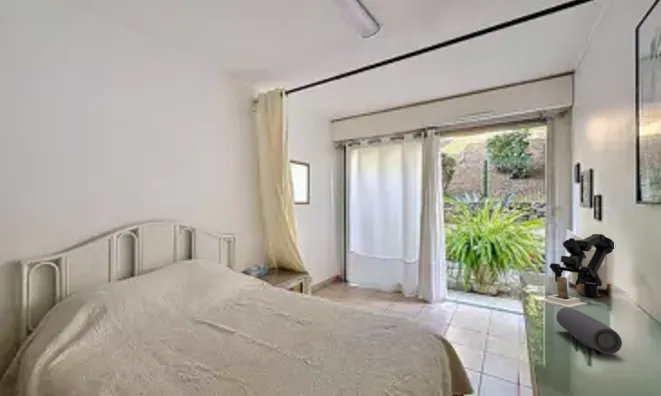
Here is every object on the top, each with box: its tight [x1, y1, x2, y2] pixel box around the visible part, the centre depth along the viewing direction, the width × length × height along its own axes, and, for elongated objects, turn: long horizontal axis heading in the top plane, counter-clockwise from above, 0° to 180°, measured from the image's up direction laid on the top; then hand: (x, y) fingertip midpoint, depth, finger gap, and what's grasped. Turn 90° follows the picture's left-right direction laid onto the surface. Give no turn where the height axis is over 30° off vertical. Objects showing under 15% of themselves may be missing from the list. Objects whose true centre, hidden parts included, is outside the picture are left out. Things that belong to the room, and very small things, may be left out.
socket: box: [540, 294, 588, 309], centre depth 157 cm, size 14×14×3 cm
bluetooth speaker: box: [556, 307, 623, 355], centre depth 110 cm, size 23×9×10 cm, turn 168°
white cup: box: [547, 275, 563, 295], centre depth 173 cm, size 8×8×10 cm
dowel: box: [557, 276, 569, 300], centre depth 157 cm, size 4×4×13 cm
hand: (565, 283), depth 159 cm, fingers open, 9 cm apart
